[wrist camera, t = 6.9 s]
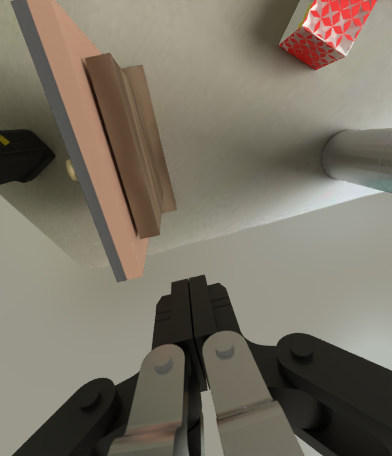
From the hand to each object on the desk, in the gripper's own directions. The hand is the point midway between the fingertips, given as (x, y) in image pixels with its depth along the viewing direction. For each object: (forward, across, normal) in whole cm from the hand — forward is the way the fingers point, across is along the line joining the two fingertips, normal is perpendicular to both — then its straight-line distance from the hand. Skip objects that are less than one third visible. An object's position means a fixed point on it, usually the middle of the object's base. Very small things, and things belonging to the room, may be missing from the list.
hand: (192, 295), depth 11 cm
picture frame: (+28, +7, -6) cm, 30 cm away
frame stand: (+38, +7, -6) cm, 39 cm away
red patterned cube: (+39, -26, -18) cm, 50 cm away
